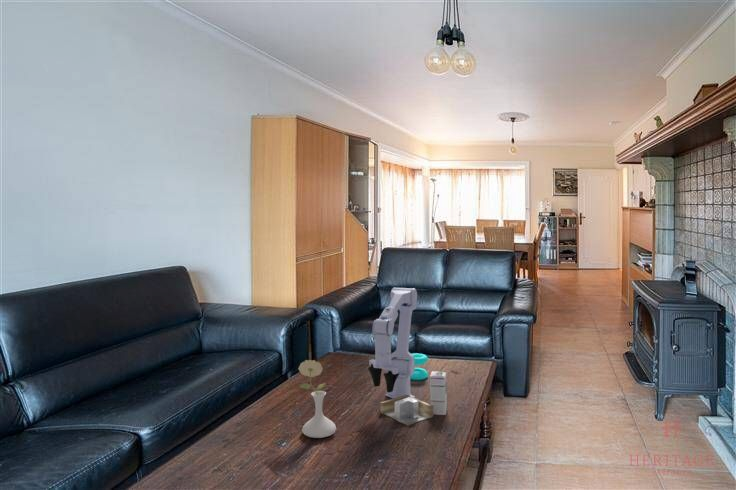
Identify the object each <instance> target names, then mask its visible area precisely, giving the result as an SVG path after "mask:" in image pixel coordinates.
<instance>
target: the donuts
mask: <svg viewBox="0 0 736 490" xmlns="http://www.w3.org/2000/svg"><path fill="white" fill-rule="evenodd" d="M411 354H412V355H413V357H414V364H415V366H422V365H425V364H426V363H427V362H428V361H429V358H428V356H427V354H423V353H417V352H416V353H414V352H413V353H411ZM405 360H408V359H407V358H405ZM428 376H429V373H428V370H426V369H425V368H421V367H415V369H414V373H413V375H412V376H410V380H413V381H421V380H425V379H427V378H428Z"/></svg>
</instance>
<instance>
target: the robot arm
mask: <svg viewBox="0 0 736 490" xmlns="http://www.w3.org/2000/svg"><path fill="white" fill-rule="evenodd" d="M417 305H418V291H417V289H416V288H415V287H413V288H412V287H410V288H407V287H396V286H395V287H393V288H392V289H391V291H390V302H389V305H388V306H385V308H383V311H382V312H381V314H380V316H379V318H376V319H374V320H373V323H372V325H371V326H372V328H371V329H372V334H373V339H374V348H375V349H374V351H375V352H374V355H375V356H374V357H375V358H372V359H369V360H368V362H369V363H368V364H369V367H368V368H367V369H368V372H369V373H370V375H371V378H372V382H373V386H374V387H376V388H377V387H379V386H381V378H382V371H383V370H384V371H386V372H384V373H383V376H384V379H385V384H386V392H387V393H386V394H385V396H386V397H389V399H390V398H391V399H394V398H397V397H401V396H404V395H409V396H411V397H413V398H416V396H415V395H414V394H413V395H412V394H411V379H410V376H412V375H413V373H414V369H415V368H416V365H415V364H414V357H413V355H412V354H413V353H411V352H410V351H409V346H410V345H409V344H410V336H411V334H410V333H411V323H412V315H413V311H414V310H416V309H417ZM398 311H399V313H398ZM398 317H399V318H398ZM397 318H398V319H399V320H398V330H397V340H396V350H394V351H393V352H392V338H391V337H392V334H393V333H394V329H395V328H394V327H395V322H396V320H397ZM406 358H407V359H408V360H406Z"/></svg>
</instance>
